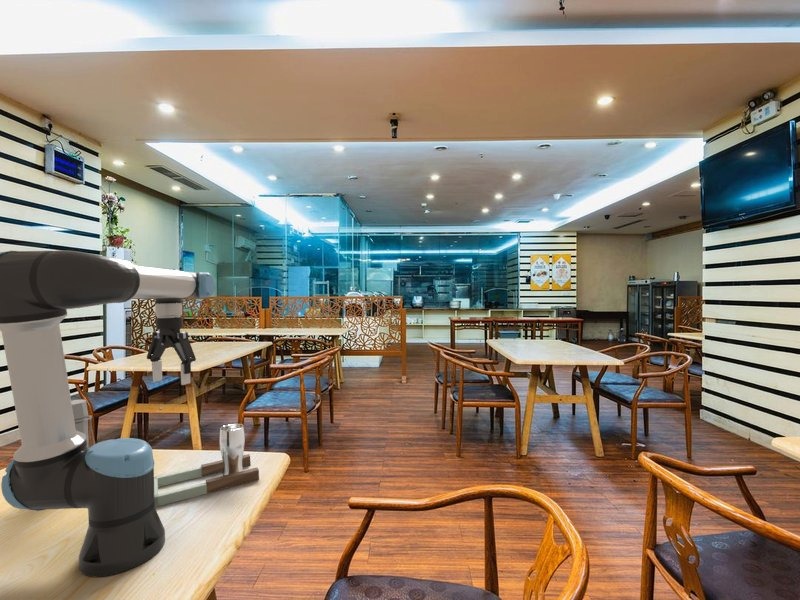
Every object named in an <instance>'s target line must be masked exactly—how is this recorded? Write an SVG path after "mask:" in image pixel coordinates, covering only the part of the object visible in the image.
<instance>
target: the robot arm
mask: <svg viewBox="0 0 800 600" xmlns="http://www.w3.org/2000/svg"><path fill="white" fill-rule="evenodd" d="M215 283H216V282H215V279H214V276H213V275H212V274H211V273H210V272H202V271H199V272H192V271H183V270H180V269H177V268H158V267H152V266H151V267H150V266H141V265H135V264H133V263H131V261H128V260H127V259H123V258H116V257H112V256H111V257H110V256H105V255H100V254H97V253H96V254H94V253H91V252H90V253H88V252H83V251H76V250H67V249H65V250H63V249H62V250H61V249H59V250H22V251H21V250H19V251H18V250H8V251H1V252H0V332H1V337H2V343H3V347H4V353H5V359H6V363H7V370H8V375H9V381H10V387H11V392H12V398H13V403H14V408H15V414H16V421H17V425H18V431H19V437H20V442H21V446H19V448H17V450H15V452H14V453H13V455H12V456H13V457H12V458H13V459H12V460H11V461H10V462H9V463H8V465H7V466H6V468H5V470H4V472H5V475H2V479H1V483H0V486H1V488H0V489H1V494H2V496H3V498H4V500H5V501H6V503H7V504H9V505H10V506H12V507H13V508H16V509H19V510H29V511H36V512H37V511H38V512H39V511H46V510H63V509H65V510H66V509H67V510H68V509H70V510H71V509H87V512H88V513H87V514H88V515H87V517H88V528H87V529H86V534H85V536H84V540H83V543H82V544H81V545H82V546H81V549H80V552H79V556H78V568H79V569H80V570H79V571H81V572H82V573H81V572H80V573H81V574H83V575H84V574H85V575H84V576H87V575H88V577H93V576H100V577H107V576H108V577H109V576H113V575H117V574H119V573H123V572H124V573H125V572H127V571H128V570H132V569H135V568H136V567H139V566H140V565H142V564H143V563H145V562H147V561H149V560H150V559H151V558H153V557H154V556H156V555H157V554H158V553H159V552H160V550H162V548H163V547H164V545H165V543H166V530H165V527H164V525H163V523H162V521H161V518H160V516H159V514H158V512H157V509H156V507H155V501H154V477H155V459H154V455H153V448H152V446H151V445H150V444H149V442H147V441H146V440H143V439H141V438H135V437H133V438H132V437H121V438H117V439H116V438H115V439H112V438H111V439H107V440H103V441H99V442H97V443H95V444H94V443H93V445H91V447H90V448H89V449H88V446H87V440H86V435H85V434H83V433H81V432H79V431H76V428H75V422H74V415H73V409H72V403H71V401H72V398H71V392H70V384H69V379H68V371H67V366H66V360H65V352H64V347H63V341H62V339H63V338H62V333H61V327H60V324H61V322H62V321H63V320H64V319H66V317H67V316H68V312H67V311H68V310H71V309H72V310H73V309H74V310H75V309H80V308H81V309H83V308H89V307H94V306H101V305H108V304H121V303H126V302H129V301H131V300H132V299H136V300H137V299H139V300H154V313H155V317H156V318H155V329H156V330H157V331H152V337H151V342H150V345H149V349H148V351H147V355H146V359H147V360H150V362H151V370H152V382H153V383H156V382H160V381H163V364H162V363H163V361H162V356H163V355H164V353H165V350H166V349H167V347H171V348H173V349H174V351H175V353H176V354H177V356H178V358H179V360H180V361H181V362H180V385H181V386H185V385H188V384H191V373H192V369H191V368H192V367H191V365H192V362H196V360H197V358H196V355H195V352H194V350H193V348H192V347H193V346H192V344H191V343H190V339H189V332H188V331H181V329H183V328H184V323H183V322H184V319H183V317H182V315H183V302H182V301H183V299H202V298H203V299H204V298H210V297H212V296H213V294H214V292H215V289H216V284H215Z"/></svg>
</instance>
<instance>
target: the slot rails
mask: <svg viewBox="0 0 800 600" xmlns="http://www.w3.org/2000/svg"><path fill="white" fill-rule="evenodd" d="M242 466H243V468H245V467H249V466H251V455H250V453H247V454H243V459H242ZM200 467H202V476H201V477H204V478H205V477H208V476H213V475H215V474H216V475H217V474H220V473H223V469H224V466H223V460H222V459H221V460H216V461H213V462H207V463H203V464H201V465H200ZM243 470H244V469H243ZM259 480H260V471H259V468H258V467H253V468H250V469H245V470H244V471H240V472H236V473H232V474H228V475H224V476H223V475H220V476H217V477H211V478H208V479H206V480H205V482H206V484H207V494H210V493H213V492H218V491H222V490H226V489H229V488H232V487H233V488H234V487H237V486H240V485H244V484H248V483H253V482H256V481H259Z"/></svg>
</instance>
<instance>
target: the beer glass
mask: <svg viewBox="0 0 800 600" xmlns="http://www.w3.org/2000/svg"><path fill="white" fill-rule="evenodd" d="M219 449H220V454H221V455H220V456H221V460H223V466H224V469H223V472H222V476H224V475H228V474H232V473H236V472H240V471H244V467H243V466H242V459H243V455H244V451H245V428H244V424H242V423H230V424H226V425H222V426H221V427H220V428H219Z"/></svg>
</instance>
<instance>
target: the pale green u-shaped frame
mask: <svg viewBox="0 0 800 600" xmlns="http://www.w3.org/2000/svg"><path fill="white" fill-rule="evenodd" d="M201 477H202V467H201V466H196V467H194V468H193V467H192V468H188V469H184V470H180V471H176V472H172V473H171V472H170V473H167V474H163V475H157V476H154V501H155V508H157V507H160V506H163V505H168V504H171V503H176V502H178V501H183V500H186V499H191V498H196V497H198V496H202V495H205V494H207V495H208V493H207V484H206V481H205V482H202V483H199V484H194V485H190V486H186V487H181V488H177V489H175V490H173V489H172V490H170V491H165V492H161V493H159V488H160V487H164V486H167V485H172V484H175V483H180V482H185V481H187V480H192V479H197V478H201Z"/></svg>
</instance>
